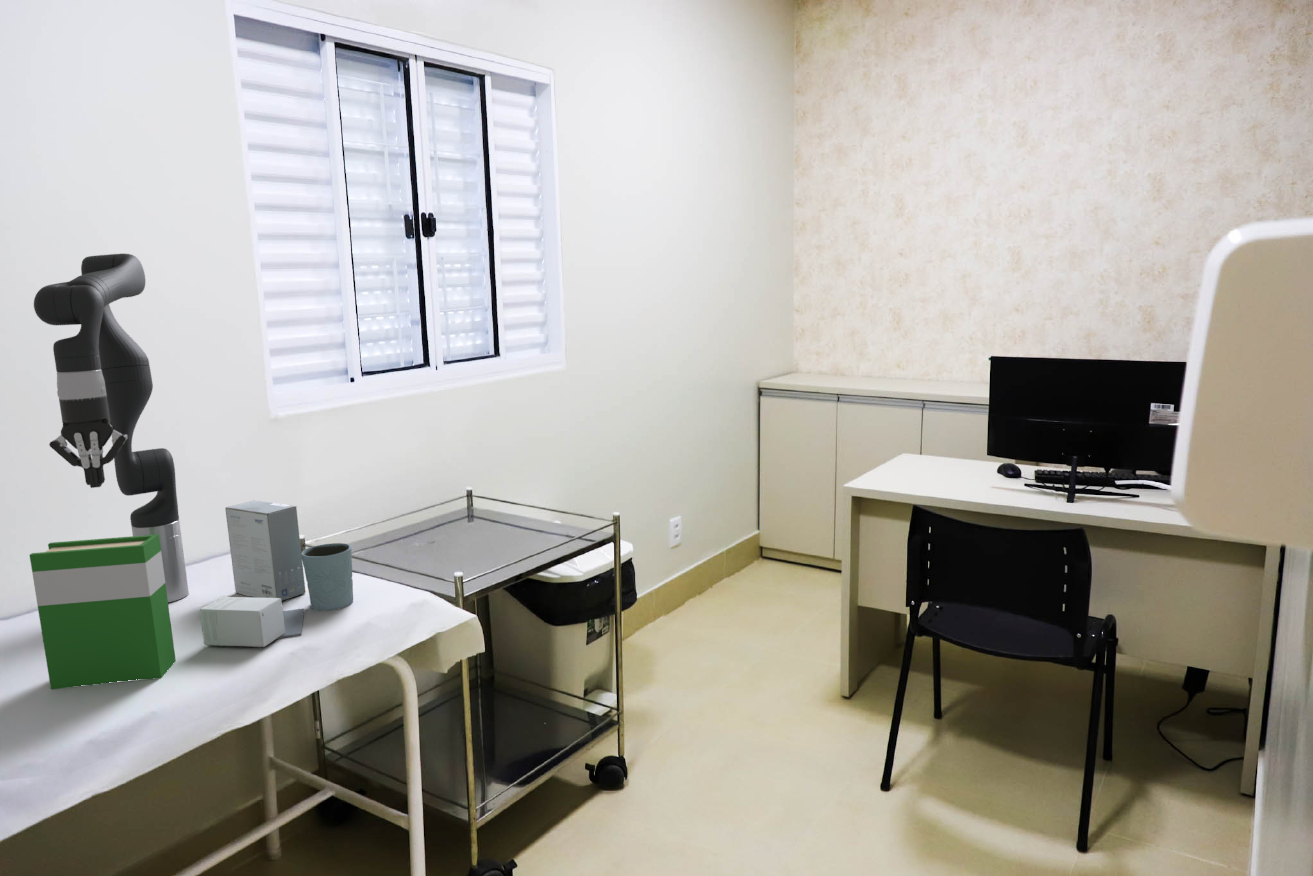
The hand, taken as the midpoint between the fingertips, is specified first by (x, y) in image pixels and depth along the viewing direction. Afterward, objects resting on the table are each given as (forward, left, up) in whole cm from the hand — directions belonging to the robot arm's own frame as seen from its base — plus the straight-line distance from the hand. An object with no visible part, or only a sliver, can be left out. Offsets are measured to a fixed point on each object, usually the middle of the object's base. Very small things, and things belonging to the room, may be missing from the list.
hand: (96, 486), depth 170 cm
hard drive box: (-19, +26, -31) cm, 45 cm away
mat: (+4, +26, -31) cm, 41 cm away
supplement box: (+7, +18, -27) cm, 33 cm away
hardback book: (+17, +3, -31) cm, 36 cm away
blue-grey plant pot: (-6, +39, -31) cm, 50 cm away
